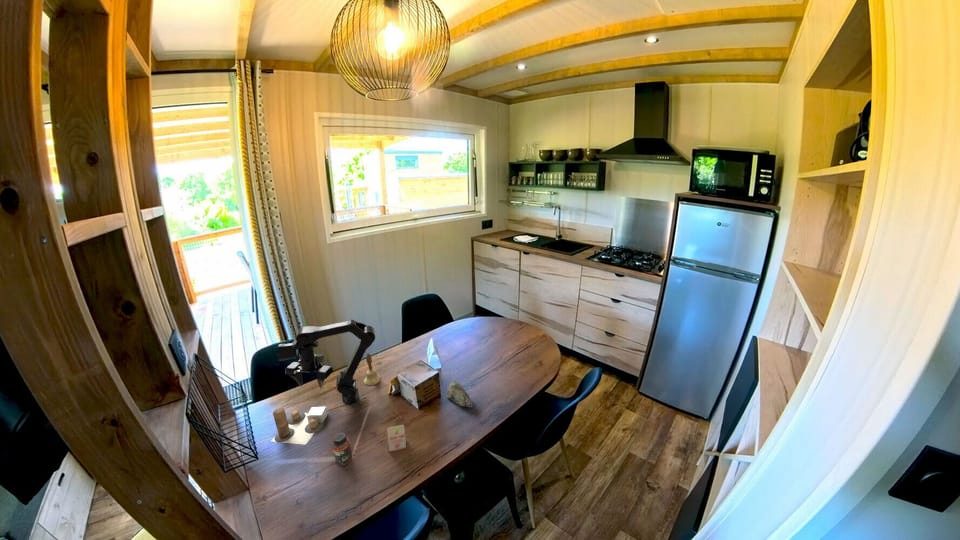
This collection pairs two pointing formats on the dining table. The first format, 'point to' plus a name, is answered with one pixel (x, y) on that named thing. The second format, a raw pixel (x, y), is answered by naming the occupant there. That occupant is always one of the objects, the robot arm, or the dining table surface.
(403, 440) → the small printed carton
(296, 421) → the board
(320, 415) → the housing
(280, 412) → the tan orange cylinder
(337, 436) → the supplement bottle
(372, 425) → the dining table surface
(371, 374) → the hand bell
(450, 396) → the mineral rock
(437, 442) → the dining table surface
